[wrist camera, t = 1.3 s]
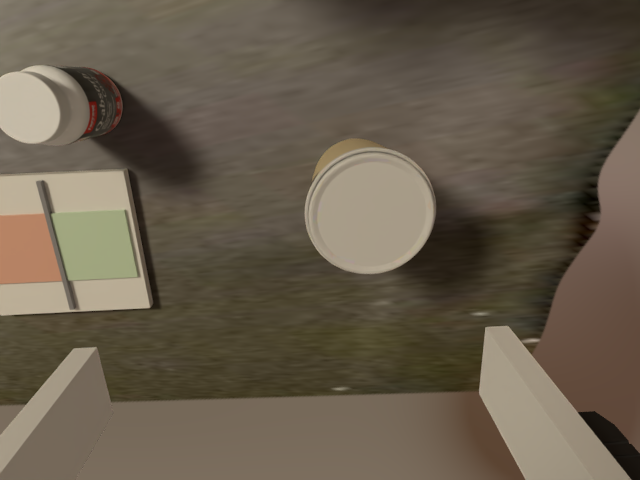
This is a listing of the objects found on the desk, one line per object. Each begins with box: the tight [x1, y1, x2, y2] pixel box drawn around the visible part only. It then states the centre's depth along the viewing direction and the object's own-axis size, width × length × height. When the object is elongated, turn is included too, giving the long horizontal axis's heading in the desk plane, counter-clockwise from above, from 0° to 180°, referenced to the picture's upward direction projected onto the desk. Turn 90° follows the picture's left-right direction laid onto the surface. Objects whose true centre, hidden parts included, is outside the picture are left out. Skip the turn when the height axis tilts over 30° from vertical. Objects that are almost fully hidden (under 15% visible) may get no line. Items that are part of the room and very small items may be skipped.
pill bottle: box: [0, 65, 123, 146], centre depth 35 cm, size 6×6×10 cm
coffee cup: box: [305, 139, 436, 274], centre depth 37 cm, size 9×9×12 cm
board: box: [0, 169, 153, 315], centre depth 43 cm, size 14×15×2 cm
